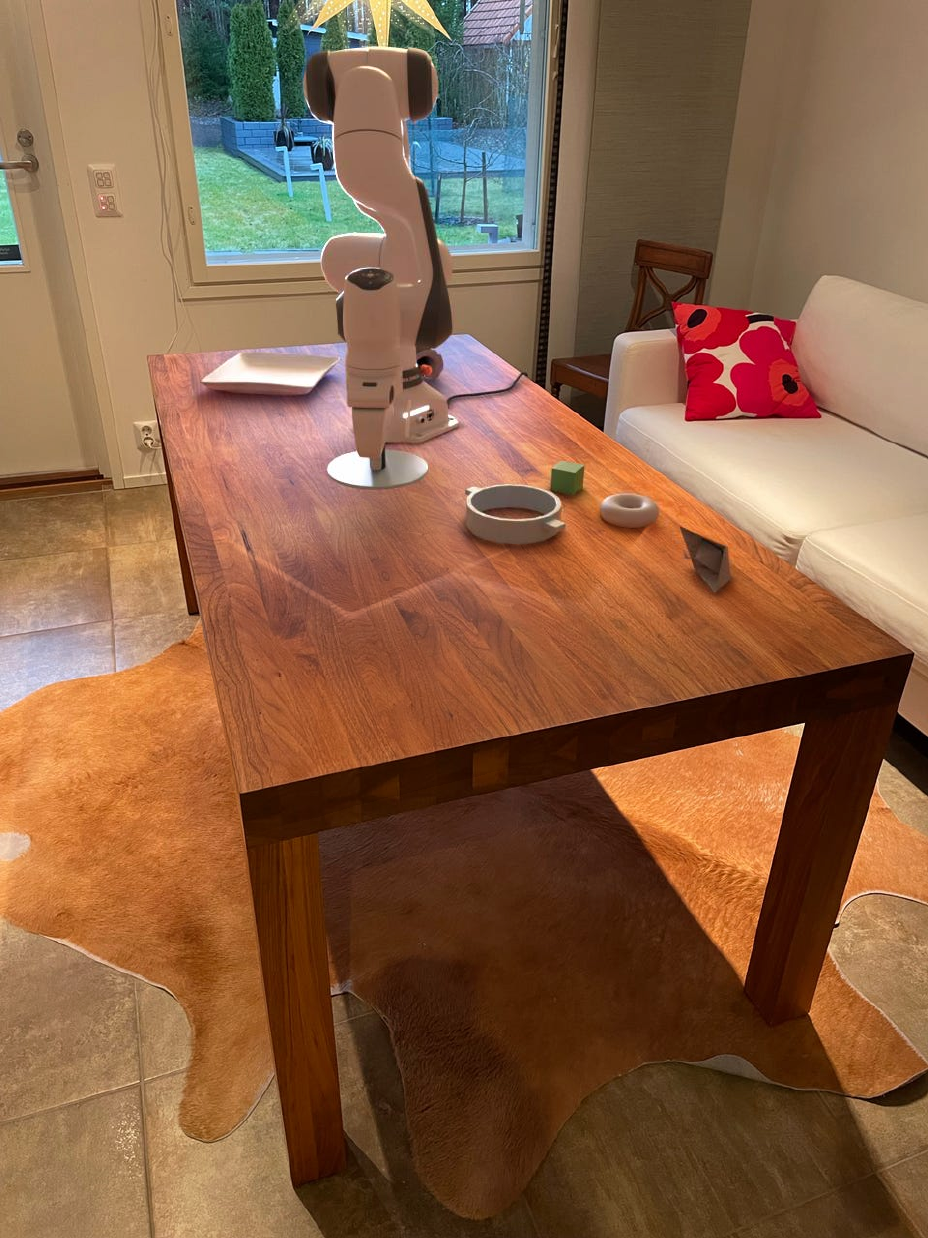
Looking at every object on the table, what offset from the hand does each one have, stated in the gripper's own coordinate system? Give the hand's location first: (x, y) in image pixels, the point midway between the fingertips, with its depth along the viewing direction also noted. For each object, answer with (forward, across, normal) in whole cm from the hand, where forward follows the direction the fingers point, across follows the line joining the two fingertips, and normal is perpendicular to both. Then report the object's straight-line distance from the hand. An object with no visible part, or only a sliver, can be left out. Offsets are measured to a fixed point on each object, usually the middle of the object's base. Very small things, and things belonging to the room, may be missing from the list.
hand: (377, 464), depth 151 cm
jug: (+11, -96, -4) cm, 96 cm away
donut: (+10, -2, +42) cm, 44 cm away
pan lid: (+1, 0, 0) cm, 1 cm away
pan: (+10, +2, +22) cm, 25 cm away
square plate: (+11, -80, -35) cm, 88 cm away
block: (+10, -15, +32) cm, 37 cm away
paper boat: (+10, +18, +51) cm, 55 cm away
